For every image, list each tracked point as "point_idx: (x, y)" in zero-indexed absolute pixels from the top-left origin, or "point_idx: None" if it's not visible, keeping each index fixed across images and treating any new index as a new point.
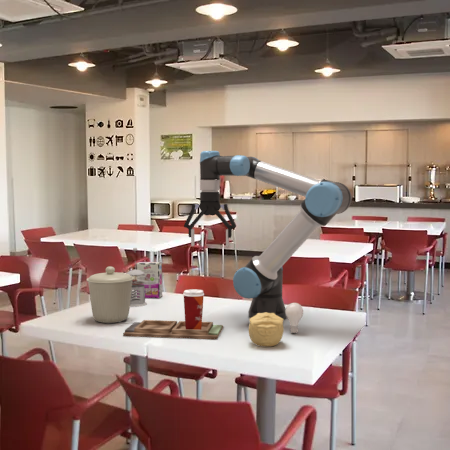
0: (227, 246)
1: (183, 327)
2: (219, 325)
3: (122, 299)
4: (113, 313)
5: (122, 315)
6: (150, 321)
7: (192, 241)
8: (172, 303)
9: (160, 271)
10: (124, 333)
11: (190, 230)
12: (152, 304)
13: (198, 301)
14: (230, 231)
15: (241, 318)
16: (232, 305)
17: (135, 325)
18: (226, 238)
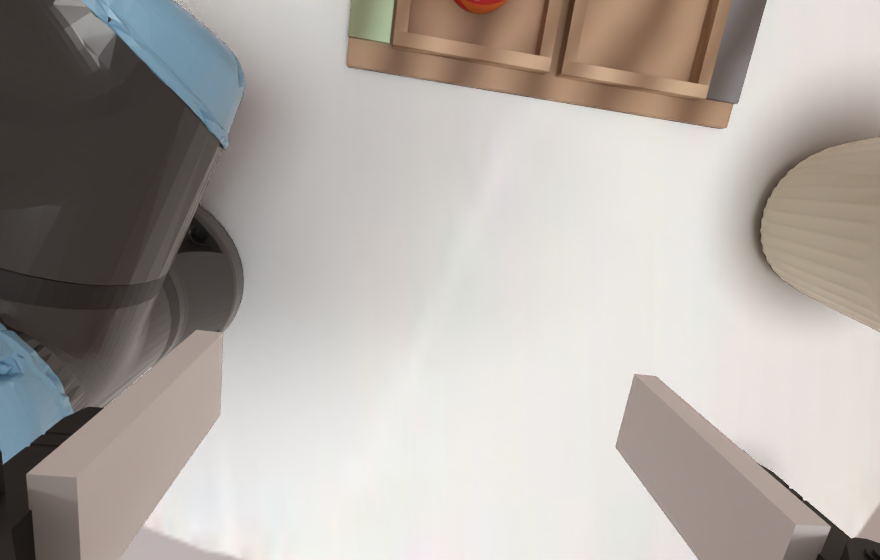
0: (202, 331)
1: (526, 26)
2: (362, 25)
3: (866, 159)
4: (848, 143)
5: (796, 172)
6: (676, 81)
7: (672, 402)
8: (574, 506)
9: None
10: None
11: (817, 534)
12: None
13: None
14: (4, 479)
15: (274, 249)
16: (326, 483)
17: (735, 38)
18: (165, 381)
